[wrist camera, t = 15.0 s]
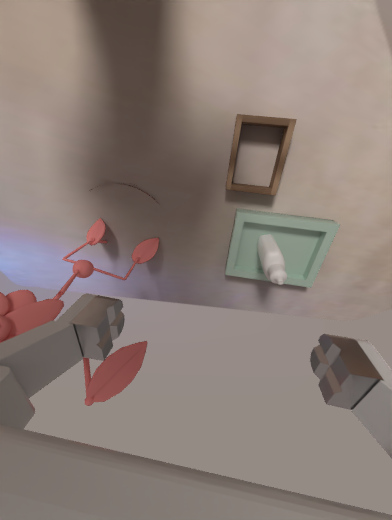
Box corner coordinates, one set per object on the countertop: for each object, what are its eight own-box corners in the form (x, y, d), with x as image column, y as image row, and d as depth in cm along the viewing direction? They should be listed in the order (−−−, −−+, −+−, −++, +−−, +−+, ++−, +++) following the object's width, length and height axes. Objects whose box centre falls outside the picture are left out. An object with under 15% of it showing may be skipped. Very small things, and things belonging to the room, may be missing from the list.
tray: (225, 268, 43) (225, 274, 40) (236, 208, 36) (237, 211, 34) (306, 280, 41) (310, 287, 39) (333, 220, 35) (340, 224, 33)
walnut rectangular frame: (236, 117, 30) (237, 114, 28) (291, 121, 29) (296, 119, 27) (225, 187, 35) (225, 189, 33) (272, 192, 34) (275, 195, 32)
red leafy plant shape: (178, 274, 45) (75, 528, 14) (70, 231, 44) (-305, 407, 13) (203, 212, 38) (103, 453, 7) (74, 158, 36) (-758, 159, 6)
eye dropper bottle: (249, 256, 40) (257, 293, 29) (261, 230, 37) (275, 261, 26) (270, 262, 40) (285, 301, 29) (284, 237, 37) (306, 271, 26)
